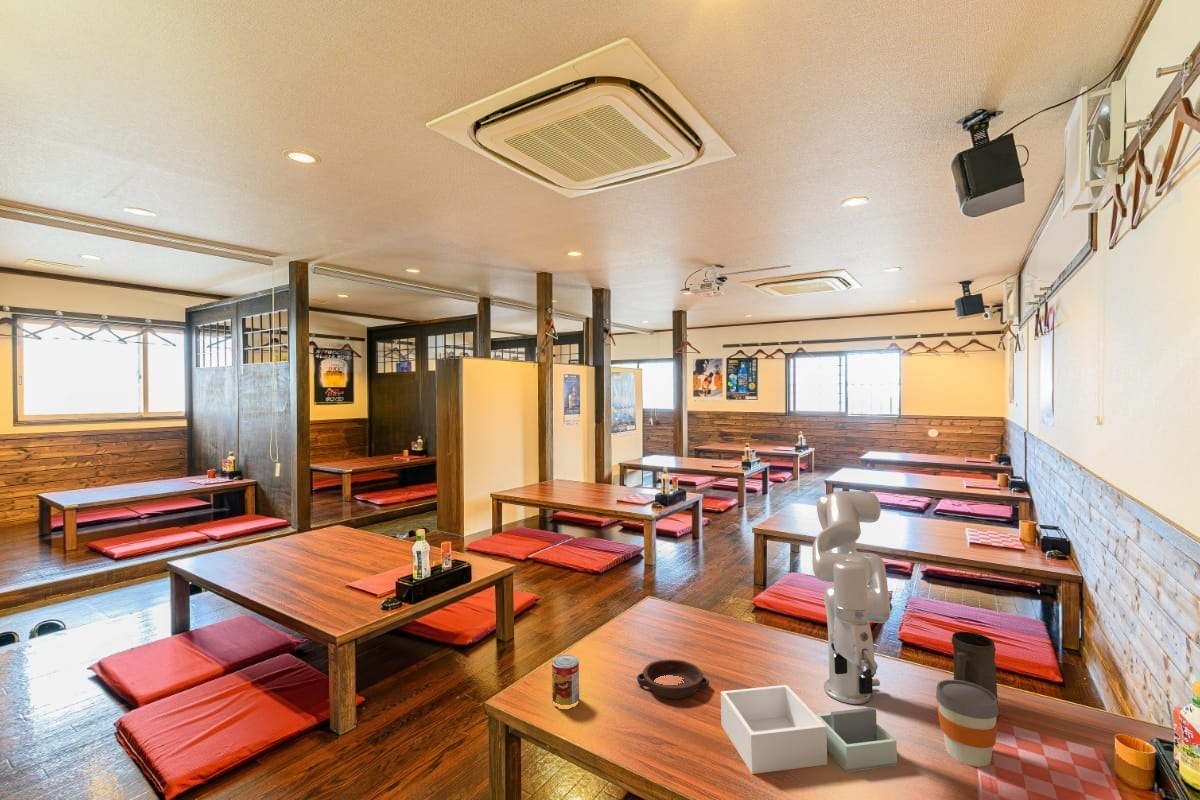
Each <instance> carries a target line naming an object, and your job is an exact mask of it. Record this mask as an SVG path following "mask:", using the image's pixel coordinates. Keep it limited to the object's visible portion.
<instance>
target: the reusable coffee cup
mask: <svg viewBox="0 0 1200 800" xmlns="http://www.w3.org/2000/svg"><path fill="white" fill-rule="evenodd" d="M935 693H936V694H935V698H936V701H937V703H938V706H937V715H938V721H939V727H940V730H941V731H942V734H943V738H944V740H943V741H944V745H945V750H946V752H947V754H948V755H949V756H951V758H953V759H954V760H956V761H957V762H960V763H962V764H965V765H967V766H970V767H975V768H977V767H978V768H981V767H980V766H986V765H988V764H989V765H990V764H991V763H990V762H992V756H993V755H992V754H993V747H994V746H995V745H996V742H997V734H998V726H999V725H998V721H997V718H998V717H999V716H998V714H999V715H1000V710H999V704H997V699H998V697H997V698H996V697H995V695H994V694H993V693H991V692H990V691H988V690H987V689H985V688H983V687H981V686H978V685H976V684H973V683H969V682H965V681H960V680H954V679H943V680H940V681H938V682H937V684H936V691H935ZM998 710H999V711H998ZM997 716H998V717H997ZM989 765H988V766H989ZM986 767H987V766H986Z"/></svg>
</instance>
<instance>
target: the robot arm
mask: <svg viewBox="0 0 1200 800" xmlns="http://www.w3.org/2000/svg"><path fill="white" fill-rule="evenodd" d="M880 503H881V502H880V501H879V498H878V497H877V495H876V494H875V493H873V492H867V491H846V490H842V491H841V490H840V491H835V492H832V493H829V494H824V495H821V496H819V497H818V498H817V500H816V512H817V513H816V514H817V517H818V520H819V523H820V526H821V528H822V531H821V532H819V534H818V535H817V536H816V537H815V538H814V541H813V545H812V549H811V550H812V551H811V555H812V560H811V561H812V563H811V564H812V570H813V571H812V572H813V574H814V576H815V578H816V579H818V580H819V581H821V582H826V583H827V582H829V583H833V584H831V585H829V586H827V587H826V588H825V589H824V592H823V602H824V607H825V613H826V619H827V620H826V622H827V633H828V634H827V638H828V639H827V640H828V641H827V642H828V644H827V645H828V674H829V676H828V679H827V680H825V681H824V682H823V689H824V692H825V693H826V694H827V695H828V696H829V697H831V698H832V699H834V700H836V701H838V702H842V703H846V704H852V705H859V704H860V705H861V704H865V703H868V702H869V701H870V700H871V698H872V697H871V696H872V693H873V692H874V691H873V690H874V688H873V687H880V685H881V682H880V680H879V679H878V678H874V677H875V676H876V674H877V670H878V663H877V662H876V660H875V651H874V641H873V640H874V639H873V634H872V628H871V625H870V623H874V624H875V623H877V624H884V623H887V622H889V620H890V617H891V603H890V602H891V601H890V595H889V587H888V578H887V572H886V571H887V570H886V565H885V562H884V560H883V559H882V557H881V556H879V555H878V554H875V553H871V552H860V551H857V543H856V542H857V540H858V539H859V538H860V536H861V533H862V530H861V524H860V523H866V524H867V523H868V524H869V523H870V524H871V523H875V522H877V521H879V520H880V517H881V510H882V508H881V504H880Z"/></svg>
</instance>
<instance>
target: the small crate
mask: <svg viewBox="0 0 1200 800" xmlns="http://www.w3.org/2000/svg"><path fill="white" fill-rule="evenodd" d="M815 715H816V716H817V717H818V718H819V719H820V720H821V721H822V722H823V723H824V724H825V726H826V731H827V753H829V754H830V755H831V756H832V757H833V758H834V760H835V761H836V762H837V763H838V764H839V765H840V766H841V767H842V769H843V770H844V771H845V772H847V773H849V772H857V771H864V770H873V769H879V768H886V767H894V766H898V753H897V740H896V739H895V738H894V736H892V735H891V734H889V732H887V731H886V729H883V727H882V726H881V725H879V724H878V723H877V709H876V708H874V707H873V706H871V707H864V708H854V709H846V710H837V711H830V712H827V713H818V714H817V713H816V714H815Z"/></svg>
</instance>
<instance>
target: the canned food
mask: <svg viewBox="0 0 1200 800" xmlns="http://www.w3.org/2000/svg"><path fill="white" fill-rule="evenodd" d="M579 666H580V660H579V658H578V657H577V656H575V655H571V654H562V655H557V656H555V657H554V658H553V659H552V661H551V683H552V684H551V687H552V693H551V695H552V698H553V699H552V702H553V701H554V702H555V703H557V704H560V705H571V704H574V703H576V702H577V701H578V700H579V701H580V667H579Z"/></svg>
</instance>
